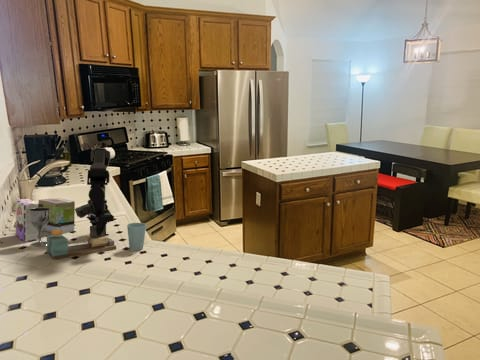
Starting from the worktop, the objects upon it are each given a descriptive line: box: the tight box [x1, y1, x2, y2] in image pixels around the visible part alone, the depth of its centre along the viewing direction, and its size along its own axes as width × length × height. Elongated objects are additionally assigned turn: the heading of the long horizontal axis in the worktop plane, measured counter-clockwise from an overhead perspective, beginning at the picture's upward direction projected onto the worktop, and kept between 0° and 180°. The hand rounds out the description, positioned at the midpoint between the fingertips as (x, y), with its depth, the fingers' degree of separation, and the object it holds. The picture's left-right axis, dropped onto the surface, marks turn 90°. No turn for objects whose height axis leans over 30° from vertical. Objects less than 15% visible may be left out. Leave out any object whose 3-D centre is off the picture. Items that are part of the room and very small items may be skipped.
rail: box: [45, 234, 117, 260], centre depth 145 cm, size 10×24×7 cm, turn 133°
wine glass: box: [29, 207, 51, 248], centre depth 150 cm, size 8×8×15 cm
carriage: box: [86, 225, 109, 247], centre depth 149 cm, size 7×6×8 cm
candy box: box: [14, 198, 39, 243], centre depth 158 cm, size 14×6×16 cm, turn 45°
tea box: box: [37, 197, 76, 234], centre depth 173 cm, size 15×10×15 cm, turn 58°
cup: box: [126, 222, 147, 252], centre depth 151 cm, size 8×8×10 cm
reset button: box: [51, 230, 63, 236], centre depth 138 cm, size 4×4×1 cm
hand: (97, 234), depth 149 cm, fingers closed on carriage, 3 cm apart
